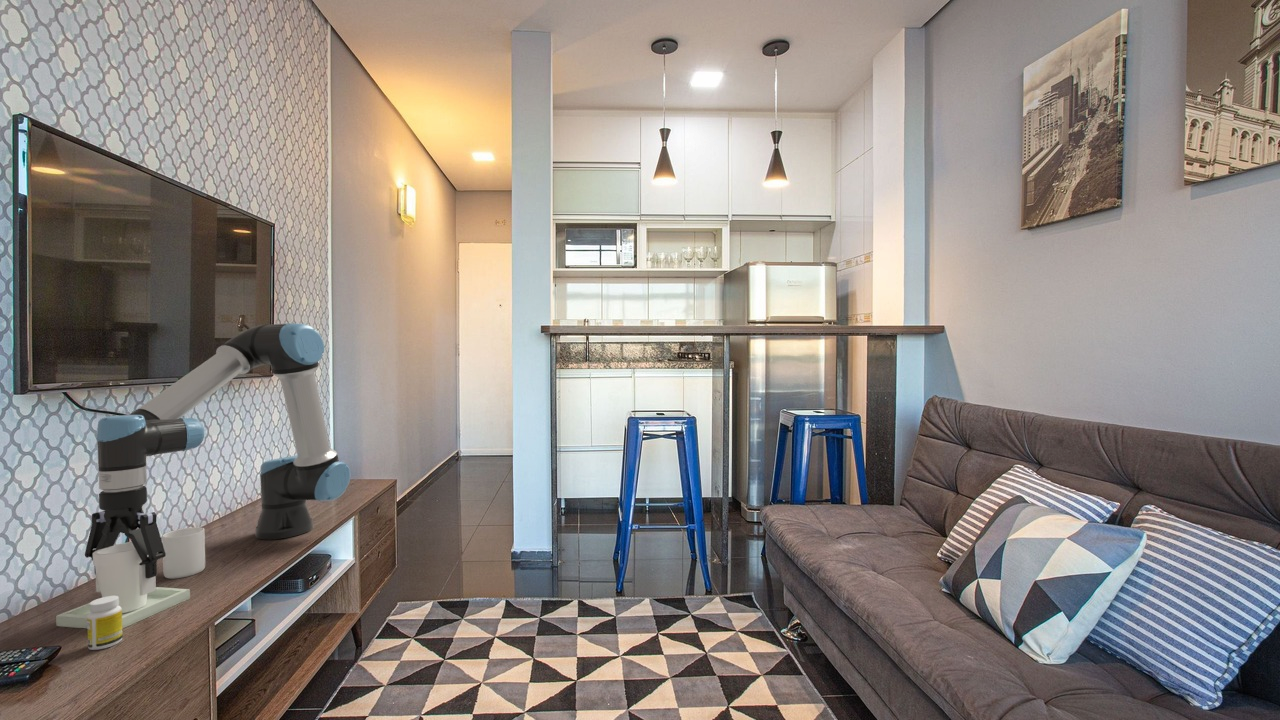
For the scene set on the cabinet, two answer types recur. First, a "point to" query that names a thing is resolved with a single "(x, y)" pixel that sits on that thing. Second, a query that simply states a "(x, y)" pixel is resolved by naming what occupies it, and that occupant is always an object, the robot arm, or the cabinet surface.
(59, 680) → the cabinet surface
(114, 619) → the supplement bottle
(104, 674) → the cabinet surface
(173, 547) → the white oval container
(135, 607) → the foam cup
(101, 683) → the cabinet surface
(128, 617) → the tray
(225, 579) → the cabinet surface
